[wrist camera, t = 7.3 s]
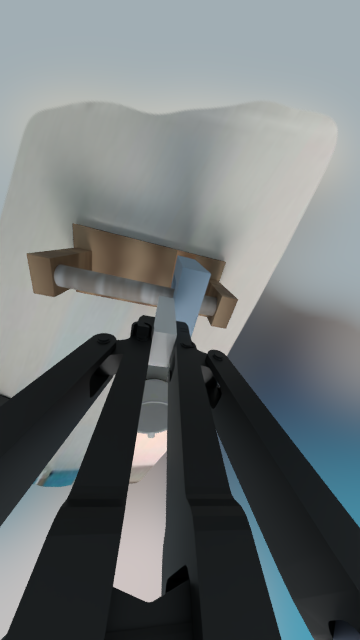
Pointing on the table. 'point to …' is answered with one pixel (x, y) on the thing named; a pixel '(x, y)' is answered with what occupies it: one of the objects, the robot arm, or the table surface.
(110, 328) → the table surface
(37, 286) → the wooden rod stand
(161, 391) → the teacup
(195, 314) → the ring
